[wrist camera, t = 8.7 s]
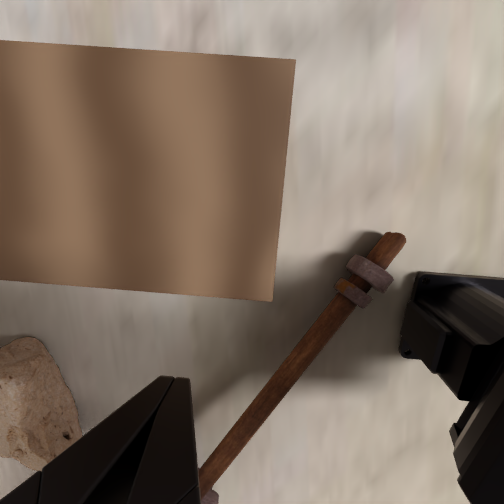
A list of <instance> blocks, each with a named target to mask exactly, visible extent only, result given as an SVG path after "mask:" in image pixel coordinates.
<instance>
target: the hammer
mask: <svg viewBox="0 0 504 504" xmlns="http://www.w3.org/2000/svg"><path fill="white" fill-rule="evenodd" d="M405 243H406V238H405V236H404V235H403V234H401V233H391V232H386V233H385V234H384V235H383V237H382V238H381V239H380V240H379V242H378V243H377V244H376V245H375V247H374V248H373V249H372V250H371V252H370V253H369V254H368V255H367V257H366V258H364V257H362V256H359V255H354V256H353V257H352V258H351V259H350V260H349V262H348V264H347V266H346V268H347V270H349V271H350V272H351V273H352V276H351V277H350V278H349V279H348V281H347V280H345V279H343V278H340V279H339V280H338V282H337V283H336V284H335V286H334V288H335V289H336V290H337V291H338V294H337V295H336V296H335V297H334V299H333V300H332V301H331V302H330V304H329V305H328V306H327V308H326V309H325V310H324V311H323V313H322V314H321V315H320V316H319V318H318V319H317V320H316V322H315V323H314V324H313V325H312V327H311V328H310V329H309V330H308V332H307V333H306V334H305V335H304V337H303V338H302V339H301V341H300V342H299V343H298V344H297V346H296V347H295V348H294V349H293V351H292V352H291V353H290V355H289V356H288V357H287V358H286V360H285V361H284V362H283V363H282V365H281V366H280V367H279V368H278V370H277V371H276V372H275V374H274V375H273V376H272V377H271V379H270V380H269V381H268V382H267V384H266V385H265V386H264V388H263V389H262V390H261V391H260V393H259V394H258V395H257V396H256V398H255V399H254V400H253V402H252V403H251V404H250V405H249V407H248V408H247V409H246V410H245V412H244V413H243V414H242V416H241V417H240V418H239V419H238V421H237V422H236V423H235V424H234V426H233V427H232V428H231V430H230V431H229V432H228V433H227V435H226V436H225V437H224V439H223V440H222V441H221V442H220V444H219V445H218V446H217V447H216V449H215V450H214V451H213V453H212V454H211V455H210V456H209V458H208V459H207V460H206V462H205V463H204V464H203V465H202V467H201V468H198V476H199V488H200V497H201V504H218V498H219V495H218V493H217V492H215V491H214V490H212V487H213V485H214V484H215V482H216V481H217V480H218V479H219V478H220V476H221V475H222V474H223V473H224V471H225V470H226V469H227V468H228V466H229V465H230V464H231V463H232V461H233V460H234V459H235V458H236V456H237V455H238V454H239V453H240V452H241V450H242V449H243V448H244V446H245V445H246V444H247V443H248V441H249V440H250V439H251V438H252V436H253V435H254V434H255V433H256V431H257V430H258V429H259V428H260V426H261V425H262V424H263V423H264V421H265V420H266V419H267V418H268V416H269V415H270V414H271V413H272V411H273V410H274V409H275V408H276V406H277V405H278V404H279V403H280V401H281V400H282V399H283V397H284V396H285V395H286V394H287V392H288V391H289V390H290V389H291V387H292V386H293V385H294V384H295V382H296V381H297V380H298V379H299V377H300V376H301V375H302V374H303V372H304V371H305V370H306V369H307V367H308V366H309V365H310V364H311V362H312V361H313V360H314V359H315V357H316V356H317V355H318V354H319V352H320V351H321V350H322V349H323V347H324V346H325V345H326V344H327V342H328V341H329V340H330V339H331V338H332V336H333V335H334V334H335V333H336V331H337V330H338V329H339V328H340V326H341V325H342V324H343V323H344V321H345V320H346V319H347V318H348V316H349V315H350V314H351V313H352V311H353V310H354V309H355V307H356V306H357V305H358V306H359V307H361V308H363V309H364V308H365V307H366V306H367V305H368V304H369V303H370V302H371V301H372V300H373V299H372V298H371V297H370V296H369V295H368V294H367V292H368V291H369V290H370V289H371V287H373V288H374V289H376V290H377V291H379V292H381V293H384V292H385V291H386V289H387V288H388V286H389V285H390V284H391V283H392V282H393V280H394V279H393V277H392V276H391V275H390V274H389V273H388V272H386V271H385V270H386V268H387V267H388V266H389V264H390V263H391V262H392V260H393V259H394V258H395V256H396V255H397V254H398V253H399V251H400V250H401V249H402V248H403V246H404V244H405Z"/></svg>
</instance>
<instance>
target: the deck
mask: <svg viewBox="0 0 504 504" xmlns="http://www.w3.org/2000/svg"><path fill="white" fill-rule="evenodd" d="M295 64H296V60H294V59H279V58H264V57H249V56H233V55H218V54H203V53H188V52H173V51H157V50H142V49H127V48H112V47H97V46H81V45H66V44H51V43H36V42H21V41H5V40H0V280H8V281H21V282H33V283H45V284H58V285H70V286H83V287H95V288H108V289H120V290H133V291H145V292H157V293H170V294H182V295H195V296H207V297H220V298H232V299H245V300H257V301H269V302H272V300H273V289H274V279H275V269H276V259H277V248H278V238H279V228H280V218H281V207H282V197H283V187H284V177H285V166H286V156H287V146H288V136H289V125H290V115H291V105H292V95H293V84H294V74H295Z"/></svg>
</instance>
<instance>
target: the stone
mask: <svg viewBox="0 0 504 504" xmlns="http://www.w3.org/2000/svg"><path fill="white" fill-rule="evenodd" d="M81 437H82V431H81V428H80V426H79V422H78V412H77V408H76V406H75V401H74V399H73V397H72V394H71V392H70V390H69V388H68V387H67V386H66V385H65V383H64V381H63V378H62V376H61V374H60V370H59V368H58V367H57V365H56V364H55V362H54V359H53V358H52V357H51V355H50V354H49V352H48V351H47V349H46V348H45V346H44V345H43V344H42V343H41V342H40V341H39V340H38V339H36V338H31V337H25V338H20V339H16V340H14V341H12V342H11V343H10V344H8V345H5V346H4V347H2V348H0V456H1V457H6V458H10V457H12V458H14V459H16V460H18V461H20V463H21V464H23V465H25V466H26V467H28V468H30V469H32V470H37V471H39V470H40V471H41V472H42V468H43V467H44V466H45V465H46V464H48V463H49V462H50V461H52V460H53V459H54V458H55V457H57V456H58V455H59V454H61V453H62V452H63V451H64V450H66V449H67V448H68V447H70V446H71V445H72V444H73V443H75V442H76V441H77V440H79V439H80V438H81Z"/></svg>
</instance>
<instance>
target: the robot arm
mask: <svg viewBox="0 0 504 504" xmlns="http://www.w3.org/2000/svg"><path fill="white" fill-rule="evenodd" d="M424 278H427V280H426V281H425V282H422V280H423V279H424ZM400 334H401V340H400V344H399V348H398V351H399V353H400V354H401V356H402V357H403V358H407V359H419V360H422V361H423V363H424V364H425V365H426V366H427V368H428V369H429V370H430V371H431V373H433V374H438V375H439V377H440V378H441V379H442V380H443V381H444V382H445V384H446V385H447V386H448V387H449V388H450V390H451V391H452V392H453V393H454V394H455V396H456V397H457V398H458V399H459V400H461V401H469V403H468V404H467V406H466V408H465V410H464V411H463V413H462V415H461V416H460V418H459V420H458V421H457V423H453V425H452V427H451V428H450V430H449V433H450V436H451V439H452V442H453V445H454V452H453V455H454V458H455V461H456V465H457V468H458V471H459V473H460V475H459V477H458V479H457V481H458V484H459V485H460V487H461V489H462V491H463V492H464V494H465V496H466V497H467V499H468V500H469V502H470V504H504V278H495V277H482V276H470V275H457V274H444V273H431V272H421V273H419V274H418V275H417V276H416V278H415V282H414V286H413V291H412V295H411V299H410V301H409V302H408V303H407V307H406V311H405V315H404V320H403V324H402V328H401V332H400ZM407 349H409V350H408V351H407V352H405V350H407ZM0 504H201V497H200V488H199V476H198V464H197V453H196V441H195V429H194V418H193V406H192V395H191V383H190V379H189V378H184V377H176V378H174V377H173V376H159V377H158V378H157V379H155V380H154V381H153V382H152V383H150V384H149V385H148V386H146V387H145V388H144V389H143V390H141V391H140V392H139V393H137V394H136V395H135V396H134V397H132V398H131V399H130V400H128V401H127V402H126V403H125V404H123V405H122V406H121V407H120V408H118V409H117V410H116V411H114V412H113V413H112V414H111V415H109V416H108V417H107V418H105V419H104V420H103V421H102V422H100V423H99V424H98V425H96V426H95V427H94V428H93V429H91V430H90V431H89V432H87V433H86V434H85V435H84V436H82V437H81V438H80V439H79V440H77V441H76V442H75V443H73V444H72V445H71V446H70V447H68V448H67V449H66V450H64V451H63V452H62V453H61V454H59V455H58V456H57V457H55V458H54V459H53V460H52V461H50V462H49V463H48V464H46V465H45V466H44V467H43V468H42V472H41V471H40V470H39V471H37V472H36V473H35V474H33V475H32V476H31V477H30V478H28V479H27V480H26V481H24V482H23V483H22V484H21V485H19V486H18V487H17V488H15V489H14V490H13V491H11V492H10V493H9V494H7V495H6V496H5V497H3V498H2V499H1V500H0Z"/></svg>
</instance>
